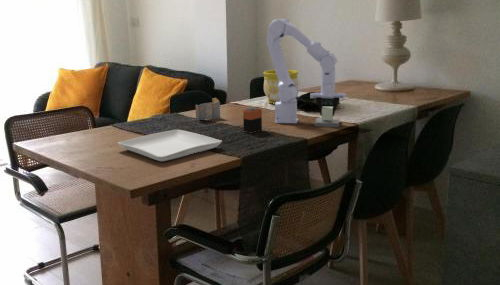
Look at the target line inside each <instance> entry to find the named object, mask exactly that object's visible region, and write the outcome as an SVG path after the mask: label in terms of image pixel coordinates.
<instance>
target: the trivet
mask: <svg viewBox="0 0 500 285" xmlns="http://www.w3.org/2000/svg"><path fill="white" fill-rule="evenodd" d="M340 121H341V120H340V118H334V117H333V120H322V117H316V118H315V121H314V127H322V128H339V127H340Z"/></svg>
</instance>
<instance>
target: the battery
mask: <svg viewBox="0 0 500 285" xmlns="http://www.w3.org/2000/svg"><path fill="white" fill-rule="evenodd" d="M262 110H263V109H261V108H258V106H253V107H247V108H246V109H244V110H243V111H242V114H243V118H242V119H243V122H242V123H243V132H244V131H247V132H254V131H258V130H262V129H263V126H262V125H263V124H262V123H263V121H262V120H263V119H262V116H263V114H262ZM262 131H263V130H262Z"/></svg>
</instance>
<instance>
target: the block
mask: <svg viewBox="0 0 500 285" xmlns="http://www.w3.org/2000/svg"><path fill="white" fill-rule="evenodd" d="M321 118H322V120H333V118H334V116H333V106H323V105H322V116H321Z"/></svg>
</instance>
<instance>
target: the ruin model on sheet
mask: <svg viewBox="0 0 500 285" xmlns="http://www.w3.org/2000/svg"><path fill="white" fill-rule="evenodd" d="M211 98H212V99H211V100H212V102H204V103H200V104H199V105H198V104H195V106H194V107H195V120H196V119H197V120H205V119H212V120H215V119H214V118H218V119H221V102H220V100H219V99H218V98H217V97H214V98H213V97H211Z"/></svg>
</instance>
